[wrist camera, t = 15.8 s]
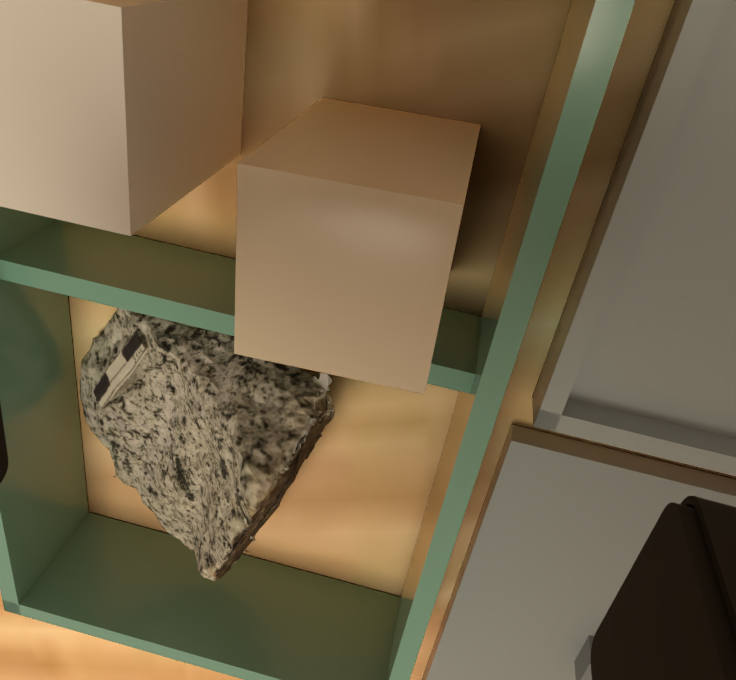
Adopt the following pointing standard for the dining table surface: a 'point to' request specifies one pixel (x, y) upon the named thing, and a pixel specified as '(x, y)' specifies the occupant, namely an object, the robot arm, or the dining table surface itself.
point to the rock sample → (200, 428)
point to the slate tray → (618, 382)
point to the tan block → (350, 240)
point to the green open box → (217, 313)
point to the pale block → (117, 105)
